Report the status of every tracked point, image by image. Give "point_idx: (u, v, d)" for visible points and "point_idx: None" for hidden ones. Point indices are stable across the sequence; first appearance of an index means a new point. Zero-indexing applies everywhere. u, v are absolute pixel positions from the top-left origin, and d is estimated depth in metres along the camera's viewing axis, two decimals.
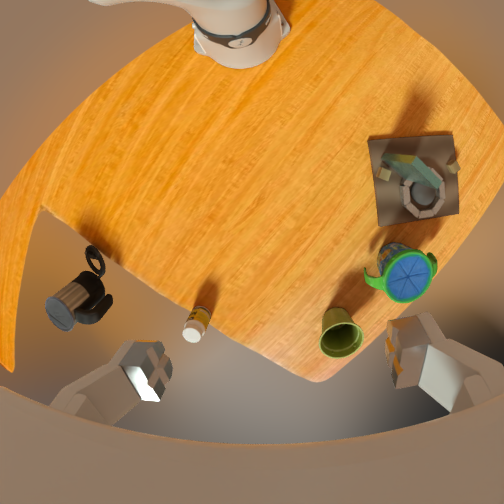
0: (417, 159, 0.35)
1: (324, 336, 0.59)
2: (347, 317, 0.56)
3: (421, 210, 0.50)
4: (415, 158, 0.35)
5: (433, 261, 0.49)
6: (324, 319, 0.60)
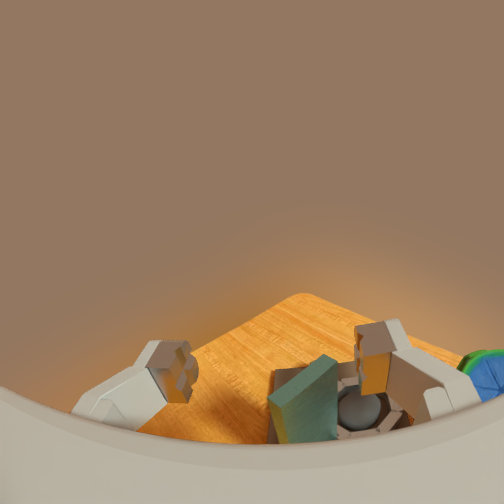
0: (274, 395, 0.19)
1: None
2: None
3: (389, 409, 0.27)
4: (271, 399, 0.18)
5: (465, 364, 0.24)
6: None
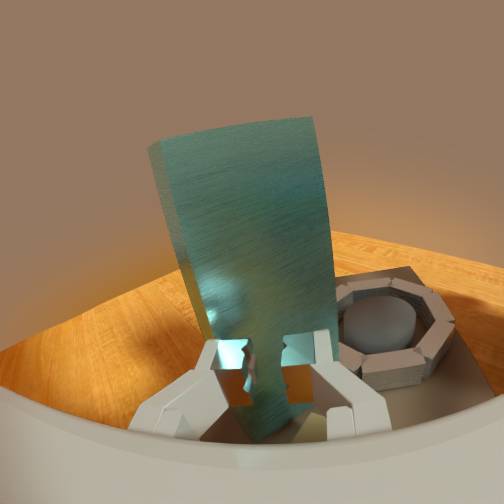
0: None
1: None
2: None
3: (431, 322, 0.16)
4: None
5: None
6: None
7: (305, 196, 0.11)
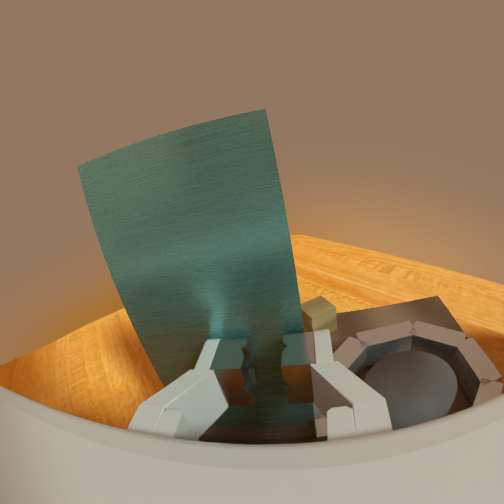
0: None
1: None
2: None
3: None
4: None
5: None
6: None
7: (246, 222, 0.08)
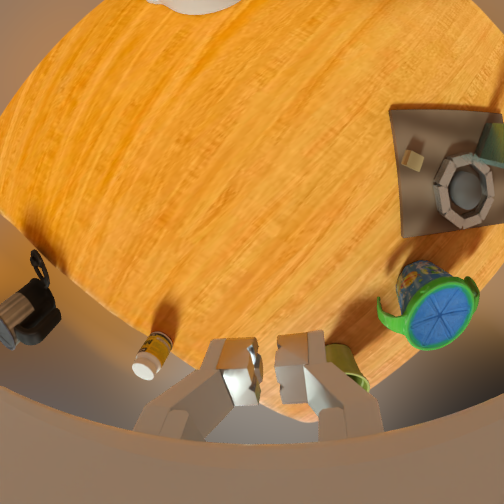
0: None
1: None
2: (349, 361, 0.39)
3: None
4: None
5: (473, 290, 0.31)
6: None
7: None
